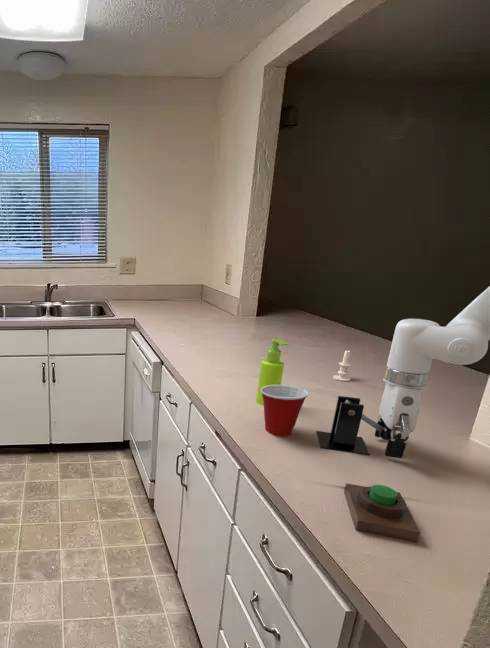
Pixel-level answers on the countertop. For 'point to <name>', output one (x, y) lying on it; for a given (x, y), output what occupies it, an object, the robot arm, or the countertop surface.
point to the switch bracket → (345, 428)
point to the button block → (380, 515)
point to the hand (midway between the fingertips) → (387, 446)
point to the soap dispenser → (271, 368)
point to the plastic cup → (282, 407)
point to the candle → (343, 368)
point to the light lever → (376, 426)
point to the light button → (383, 494)
